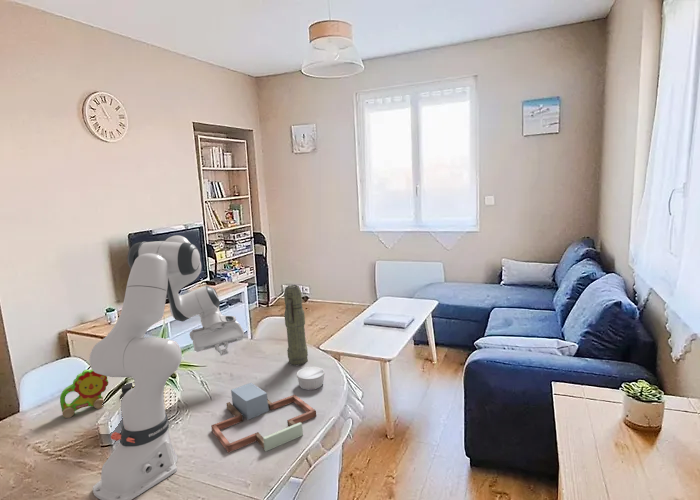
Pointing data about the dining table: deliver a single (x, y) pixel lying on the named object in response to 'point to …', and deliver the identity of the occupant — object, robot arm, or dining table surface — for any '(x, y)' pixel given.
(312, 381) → the ramekin
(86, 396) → the toy lion
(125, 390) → the supplement bottle
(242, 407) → the slate block
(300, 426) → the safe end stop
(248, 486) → the dining table surface
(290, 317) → the green carved statue
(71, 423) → the dining table surface
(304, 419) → the channel
